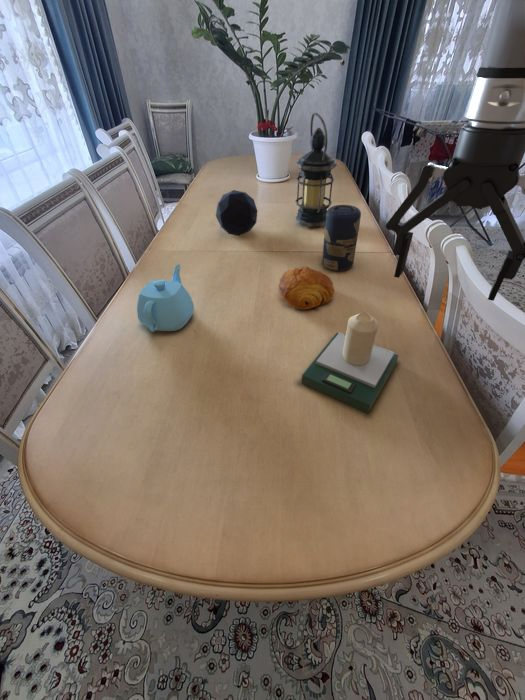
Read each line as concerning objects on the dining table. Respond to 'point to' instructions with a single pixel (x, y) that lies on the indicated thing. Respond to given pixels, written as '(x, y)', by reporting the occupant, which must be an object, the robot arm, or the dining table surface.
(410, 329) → the dining table surface
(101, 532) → the dining table surface
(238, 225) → the decorative orb
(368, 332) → the candle
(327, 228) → the canister
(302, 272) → the croissant
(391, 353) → the scale
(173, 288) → the teapot
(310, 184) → the lantern
